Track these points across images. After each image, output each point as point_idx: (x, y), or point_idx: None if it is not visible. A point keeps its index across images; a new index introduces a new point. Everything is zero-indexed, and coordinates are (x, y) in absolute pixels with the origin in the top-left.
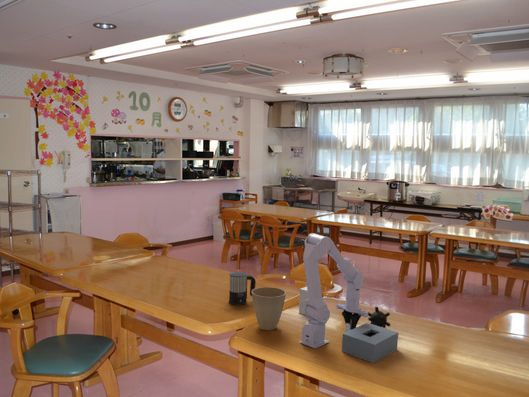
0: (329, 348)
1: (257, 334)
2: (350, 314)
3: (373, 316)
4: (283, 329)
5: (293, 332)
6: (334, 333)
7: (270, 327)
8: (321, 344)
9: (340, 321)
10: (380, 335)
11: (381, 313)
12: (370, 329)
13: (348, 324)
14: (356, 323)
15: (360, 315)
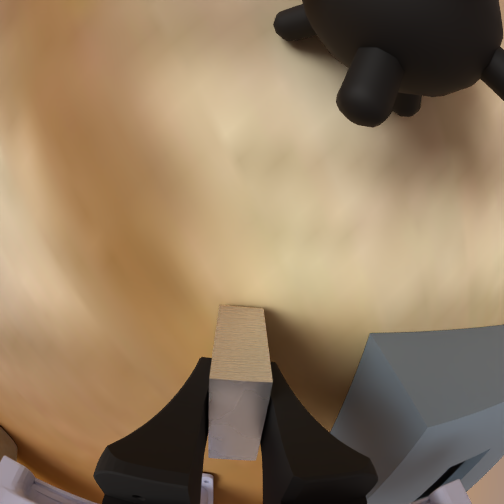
0: (249, 493)
1: (37, 474)
2: (195, 477)
3: (409, 49)
4: (17, 431)
5: (49, 444)
6: (144, 387)
7: (16, 458)
8: (211, 498)
9: (26, 137)
10: (482, 465)
11: (493, 2)
12: (445, 471)
13: (238, 455)
14: (292, 405)
15: (364, 491)
